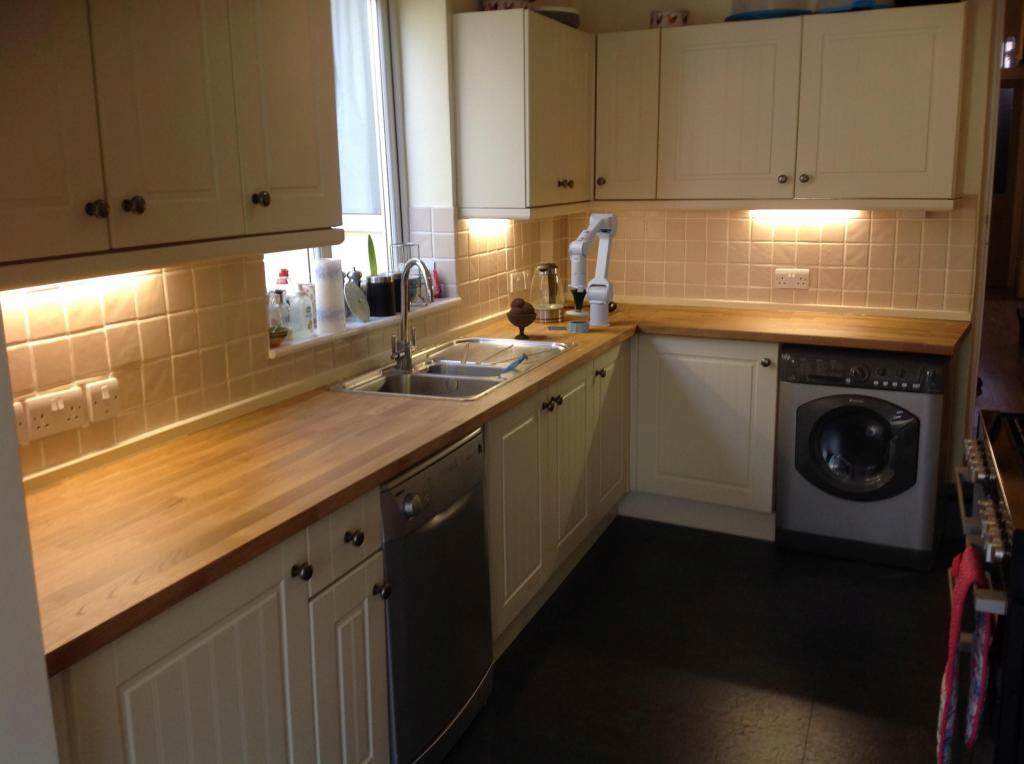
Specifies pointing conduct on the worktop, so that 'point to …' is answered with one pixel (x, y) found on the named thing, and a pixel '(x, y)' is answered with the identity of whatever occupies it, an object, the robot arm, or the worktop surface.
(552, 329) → the mat
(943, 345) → the worktop surface
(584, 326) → the bowl
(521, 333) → the ice cream bowl
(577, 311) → the lid
